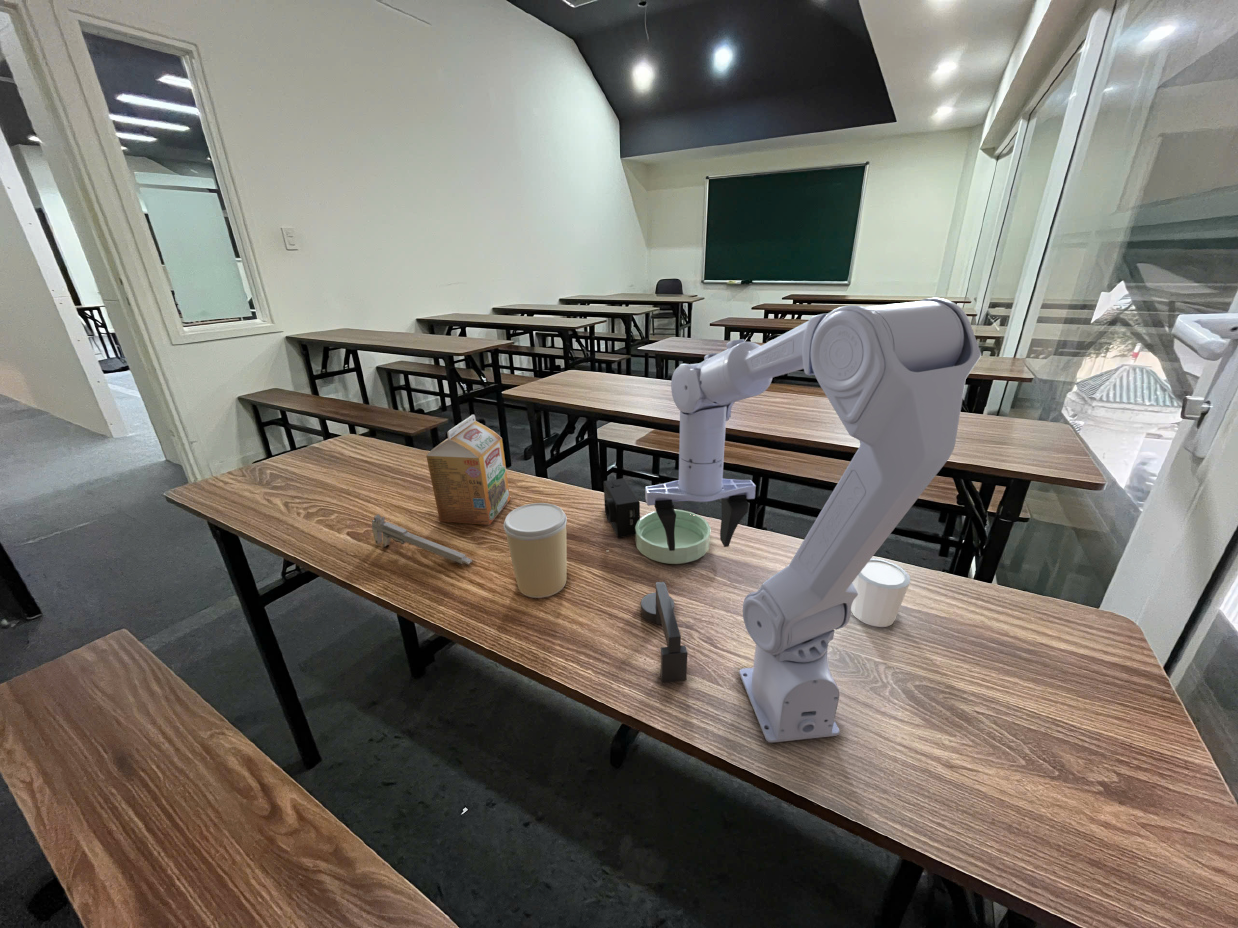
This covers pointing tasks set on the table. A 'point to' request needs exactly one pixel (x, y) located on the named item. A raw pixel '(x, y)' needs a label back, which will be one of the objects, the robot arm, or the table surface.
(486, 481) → the milk carton
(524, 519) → the cream lidded canister
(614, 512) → the digital camera
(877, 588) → the white round tub
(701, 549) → the bowl
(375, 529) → the caliper
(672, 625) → the grey lever handle
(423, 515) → the table surface
